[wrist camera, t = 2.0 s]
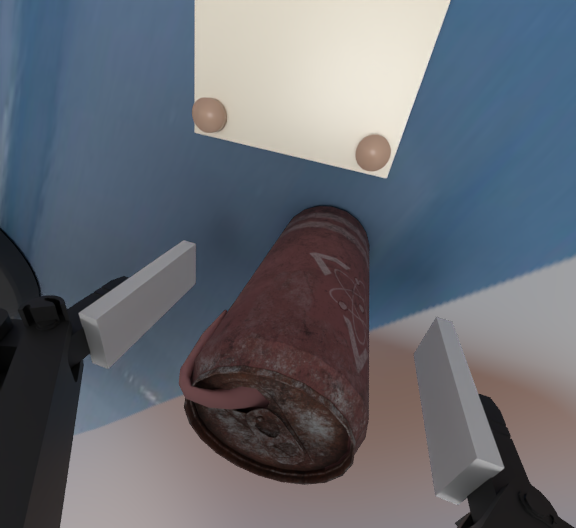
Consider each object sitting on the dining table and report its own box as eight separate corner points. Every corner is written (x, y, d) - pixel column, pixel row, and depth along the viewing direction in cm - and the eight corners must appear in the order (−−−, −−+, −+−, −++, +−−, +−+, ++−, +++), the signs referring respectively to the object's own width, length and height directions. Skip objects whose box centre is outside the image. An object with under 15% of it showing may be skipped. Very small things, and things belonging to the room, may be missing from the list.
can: (294, 189, 19) (170, 328, 7) (384, 223, 19) (410, 430, 7) (272, 261, 22) (159, 440, 10) (348, 291, 22) (322, 514, 10)
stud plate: (204, 131, 19) (187, 133, 17) (209, -166, 12) (183, -209, 11) (385, 174, 17) (387, 181, 15) (496, -139, 11) (519, -184, 9)
